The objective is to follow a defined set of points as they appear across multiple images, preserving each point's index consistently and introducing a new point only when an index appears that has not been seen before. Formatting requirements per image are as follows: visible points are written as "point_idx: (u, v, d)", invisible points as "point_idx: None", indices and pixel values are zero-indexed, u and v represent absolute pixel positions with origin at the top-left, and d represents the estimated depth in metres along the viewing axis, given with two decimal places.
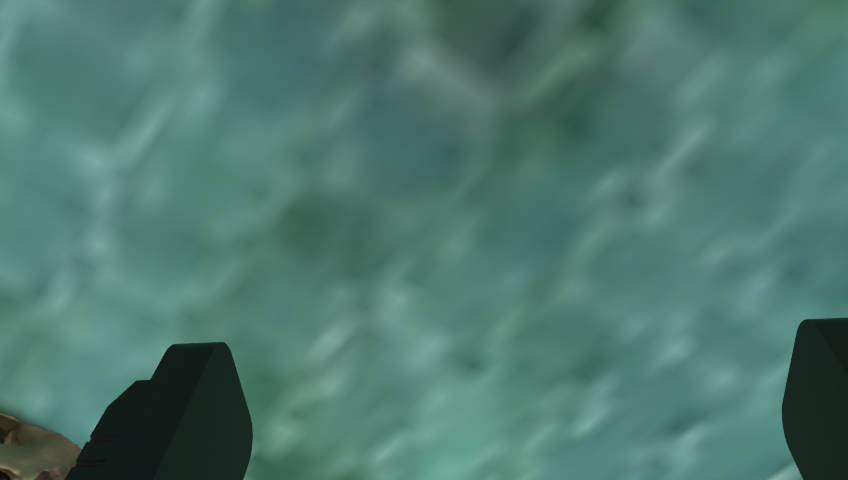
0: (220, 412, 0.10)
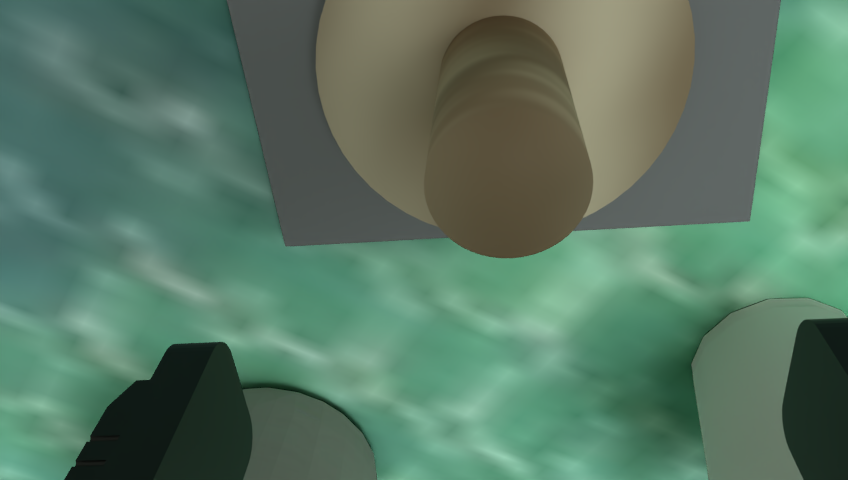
0: (220, 413, 0.10)
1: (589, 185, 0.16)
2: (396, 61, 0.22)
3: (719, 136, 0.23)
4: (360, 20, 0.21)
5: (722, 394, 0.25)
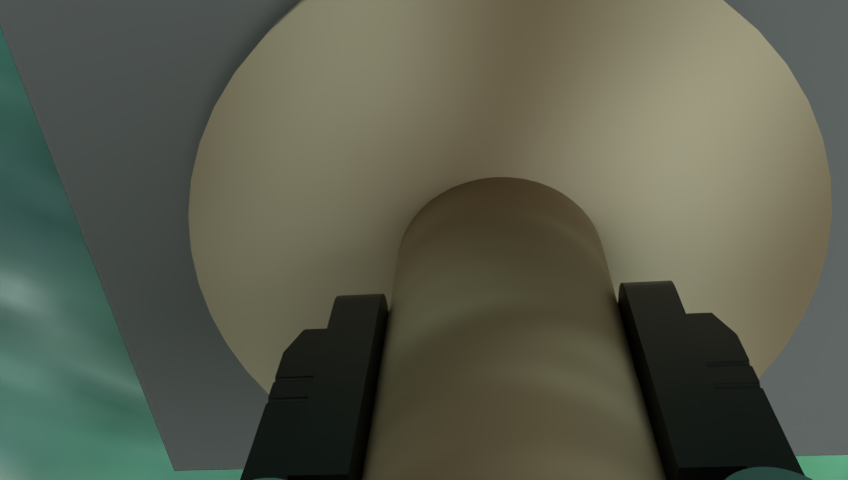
0: None
1: None
2: (324, 242, 0.13)
3: (844, 342, 0.15)
4: (260, 180, 0.12)
5: None
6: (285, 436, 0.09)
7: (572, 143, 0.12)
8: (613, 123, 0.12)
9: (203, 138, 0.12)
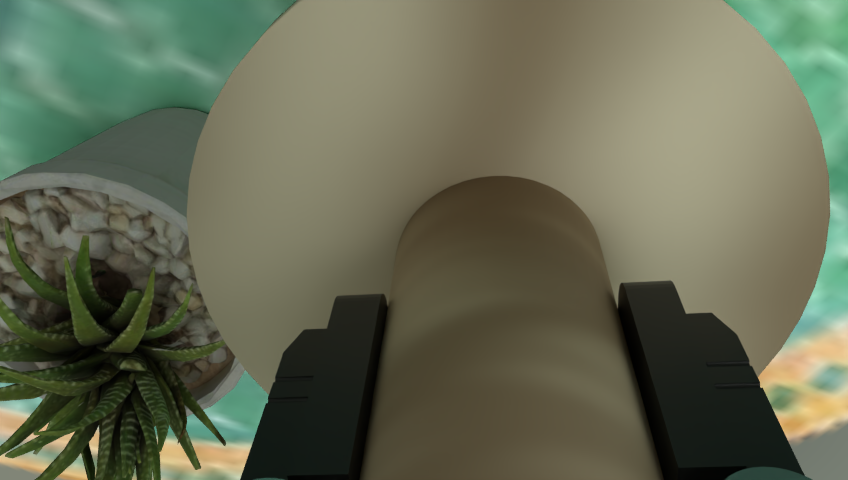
0: None
1: None
2: (322, 241, 0.13)
3: None
4: (258, 179, 0.12)
5: None
6: (285, 436, 0.09)
7: (571, 142, 0.12)
8: (611, 122, 0.12)
9: (201, 137, 0.12)
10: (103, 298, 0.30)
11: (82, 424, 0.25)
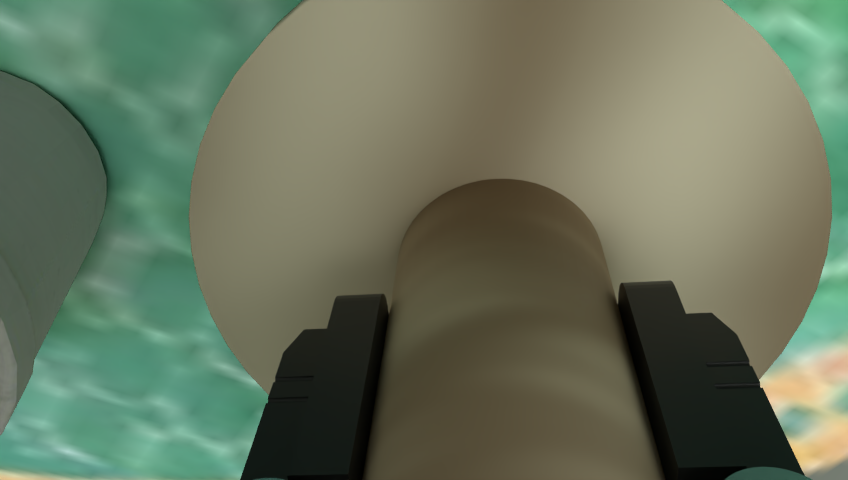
0: None
1: None
2: (325, 243, 0.13)
3: None
4: (260, 182, 0.12)
5: None
6: (285, 436, 0.09)
7: (572, 145, 0.12)
8: (613, 125, 0.12)
9: (204, 139, 0.12)
10: None
11: None
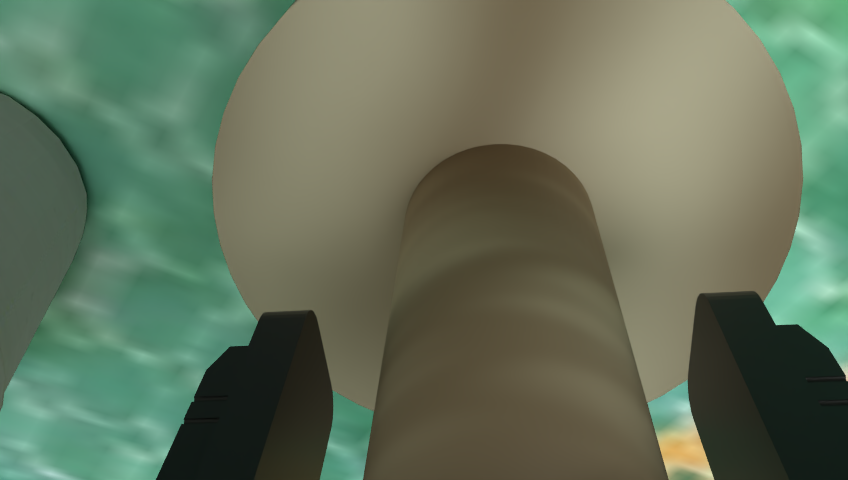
0: (311, 377, 0.11)
1: None
2: (337, 205, 0.14)
3: None
4: (279, 147, 0.14)
5: None
6: (195, 459, 0.09)
7: (566, 112, 0.13)
8: (603, 94, 0.13)
9: (227, 107, 0.13)
10: None
11: None
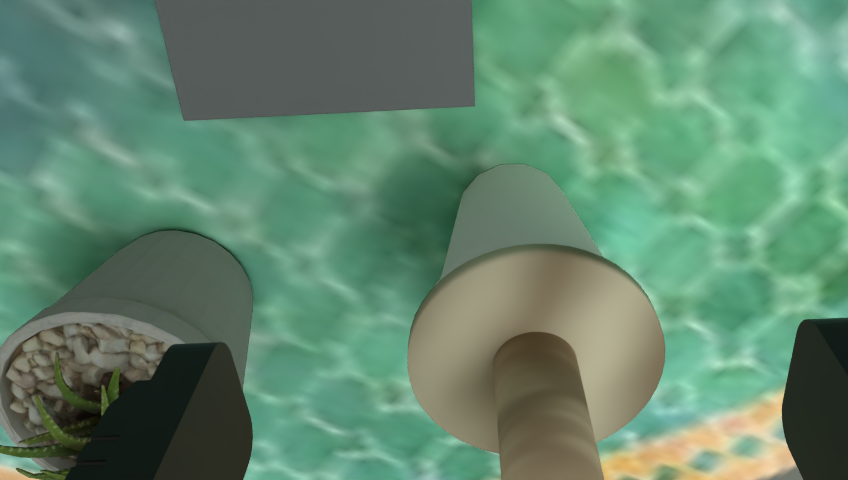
0: (220, 413, 0.10)
1: None
2: (464, 353, 0.32)
3: (448, 49, 0.38)
4: (442, 330, 0.31)
5: (458, 216, 0.40)
6: None
7: (566, 320, 0.31)
8: (581, 314, 0.31)
9: (422, 315, 0.31)
10: None
11: None
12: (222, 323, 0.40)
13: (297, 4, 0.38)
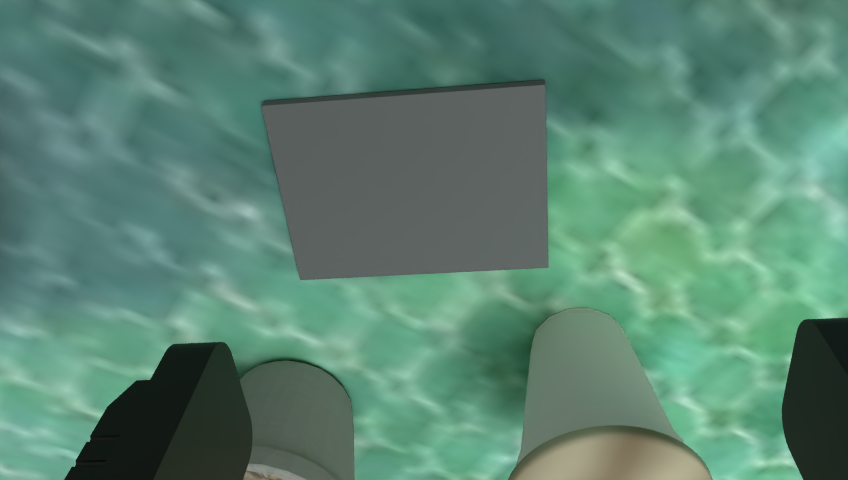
0: (220, 412, 0.10)
1: None
2: None
3: (526, 225, 0.45)
4: None
5: (535, 360, 0.47)
6: None
7: None
8: None
9: (519, 479, 0.38)
10: None
11: None
12: (338, 455, 0.47)
13: (399, 193, 0.45)
